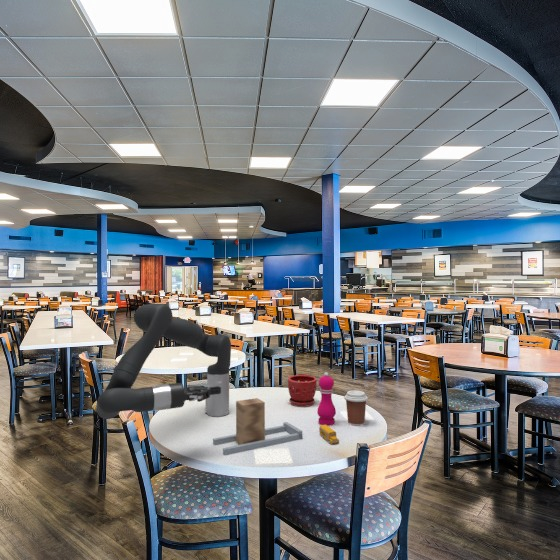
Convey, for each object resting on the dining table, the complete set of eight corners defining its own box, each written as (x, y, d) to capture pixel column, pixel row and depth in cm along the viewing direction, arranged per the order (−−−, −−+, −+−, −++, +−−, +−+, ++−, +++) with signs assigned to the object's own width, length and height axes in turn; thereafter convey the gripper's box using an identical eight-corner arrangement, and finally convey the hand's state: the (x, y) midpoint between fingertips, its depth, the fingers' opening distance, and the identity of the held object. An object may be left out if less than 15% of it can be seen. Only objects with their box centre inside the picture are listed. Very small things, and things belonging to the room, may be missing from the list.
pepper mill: (316, 420, 164) (316, 370, 164) (334, 420, 164) (334, 370, 164) (318, 426, 157) (317, 374, 157) (336, 426, 157) (336, 374, 157)
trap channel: (224, 456, 129) (224, 446, 129) (213, 444, 139) (213, 435, 139) (302, 439, 143) (302, 430, 143) (286, 430, 153) (286, 422, 153)
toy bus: (331, 445, 138) (331, 434, 138) (319, 435, 147) (319, 425, 147) (339, 444, 139) (339, 433, 139) (327, 434, 148) (327, 424, 148)
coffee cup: (343, 419, 165) (343, 389, 165) (366, 419, 164) (366, 389, 164) (345, 426, 156) (344, 395, 156) (369, 427, 155) (369, 395, 155)
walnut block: (243, 448, 135) (243, 405, 135) (236, 442, 140) (236, 401, 140) (264, 443, 139) (264, 402, 139) (257, 437, 144) (257, 398, 144)
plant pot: (282, 404, 187) (282, 378, 187) (299, 398, 197) (299, 373, 197) (305, 409, 178) (305, 382, 178) (322, 403, 188) (322, 377, 188)
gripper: (172, 388, 121) (227, 382, 129) (162, 380, 132) (213, 374, 140) (172, 414, 120) (227, 406, 129) (162, 403, 132) (213, 396, 140)
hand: (219, 389), depth 135 cm, fingers closed
